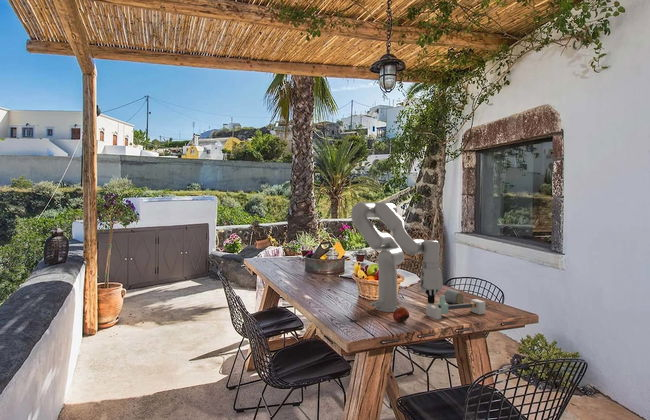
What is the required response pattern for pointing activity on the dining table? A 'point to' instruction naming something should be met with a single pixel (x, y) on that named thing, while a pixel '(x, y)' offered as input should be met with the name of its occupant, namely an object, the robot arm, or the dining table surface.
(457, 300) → the ceramic mug
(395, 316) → the pomegranate
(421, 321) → the dining table surface
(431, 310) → the rail
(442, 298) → the sleeve
